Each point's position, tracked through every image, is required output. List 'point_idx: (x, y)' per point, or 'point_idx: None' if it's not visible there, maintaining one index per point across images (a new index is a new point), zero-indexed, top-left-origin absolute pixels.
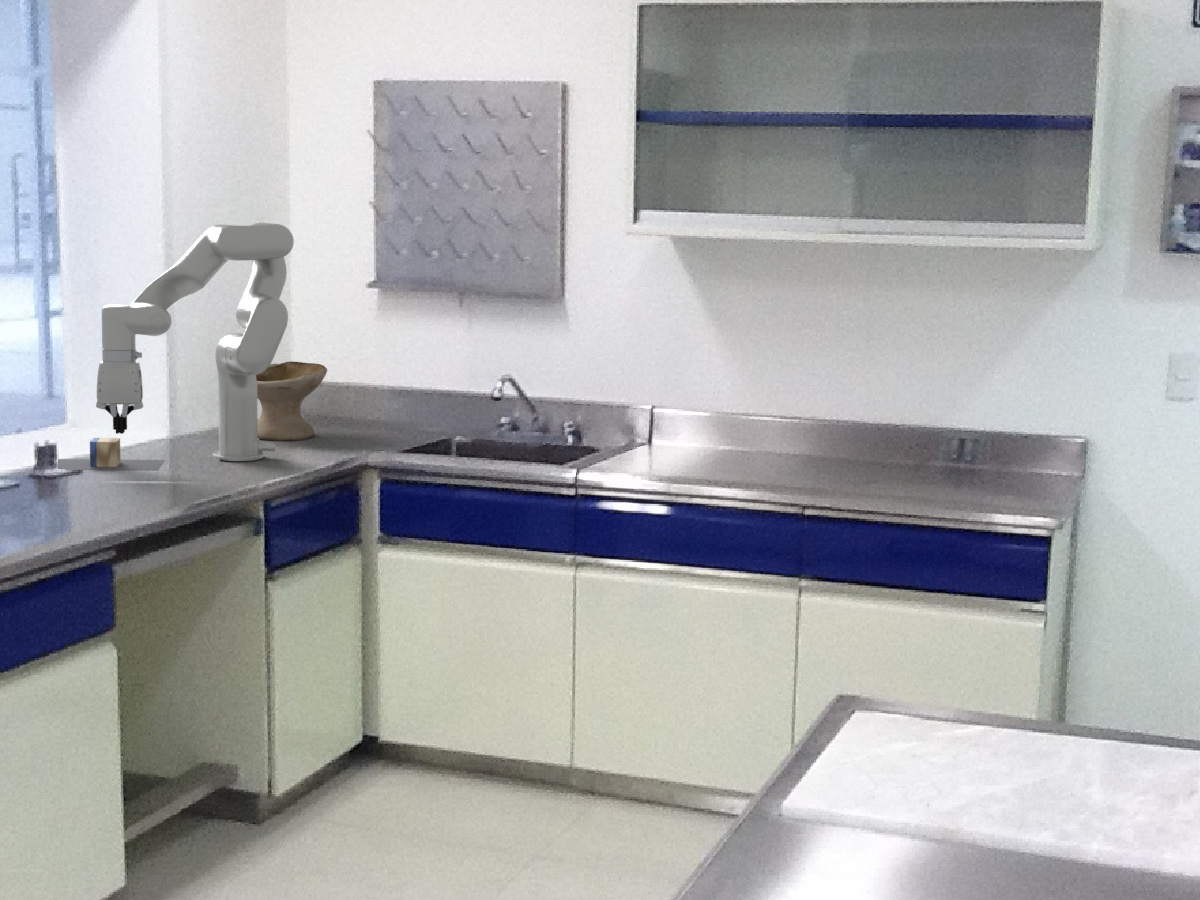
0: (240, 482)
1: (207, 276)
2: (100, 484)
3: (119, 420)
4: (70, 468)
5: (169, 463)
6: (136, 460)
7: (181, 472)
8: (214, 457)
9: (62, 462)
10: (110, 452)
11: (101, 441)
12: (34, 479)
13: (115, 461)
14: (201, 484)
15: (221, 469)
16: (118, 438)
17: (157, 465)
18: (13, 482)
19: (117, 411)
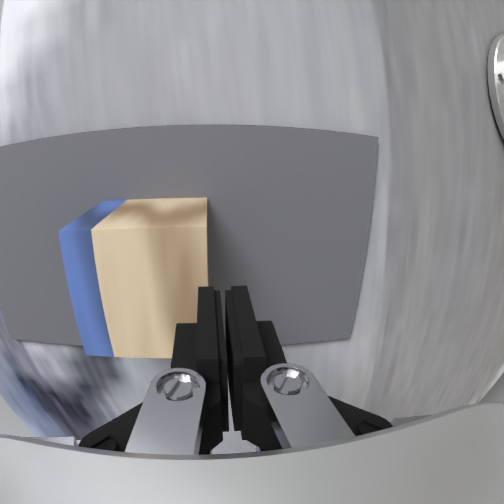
0: (468, 390)
1: None
2: None
3: (233, 419)
4: (69, 329)
5: (388, 167)
6: (269, 146)
7: (406, 323)
8: (495, 112)
9: (8, 221)
10: None
11: (133, 347)
12: (53, 418)
13: None
14: None
15: (488, 268)
16: (199, 243)
17: (353, 258)
18: (38, 435)
19: (203, 417)
